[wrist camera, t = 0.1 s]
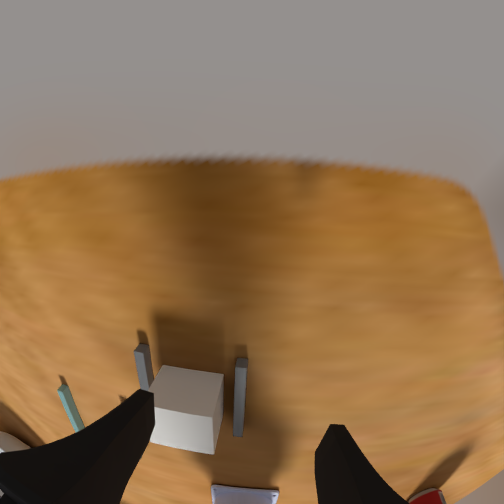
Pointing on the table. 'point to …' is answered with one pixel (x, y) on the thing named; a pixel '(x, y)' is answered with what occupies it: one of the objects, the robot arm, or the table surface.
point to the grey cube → (187, 408)
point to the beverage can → (428, 497)
